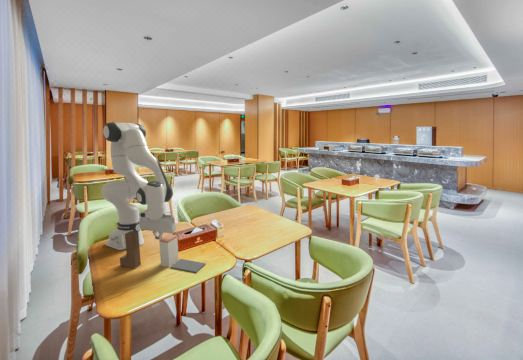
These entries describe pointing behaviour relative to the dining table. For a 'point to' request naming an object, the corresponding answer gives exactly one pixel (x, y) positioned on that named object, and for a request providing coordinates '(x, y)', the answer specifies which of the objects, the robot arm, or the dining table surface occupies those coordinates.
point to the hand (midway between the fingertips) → (158, 239)
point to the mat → (188, 265)
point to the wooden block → (131, 251)
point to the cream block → (169, 250)
